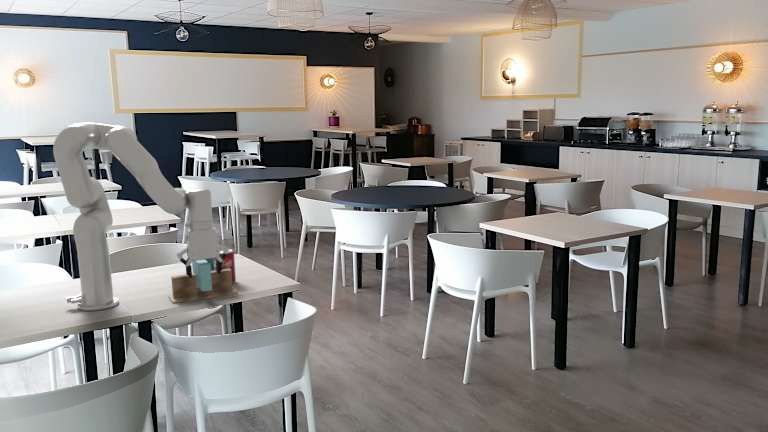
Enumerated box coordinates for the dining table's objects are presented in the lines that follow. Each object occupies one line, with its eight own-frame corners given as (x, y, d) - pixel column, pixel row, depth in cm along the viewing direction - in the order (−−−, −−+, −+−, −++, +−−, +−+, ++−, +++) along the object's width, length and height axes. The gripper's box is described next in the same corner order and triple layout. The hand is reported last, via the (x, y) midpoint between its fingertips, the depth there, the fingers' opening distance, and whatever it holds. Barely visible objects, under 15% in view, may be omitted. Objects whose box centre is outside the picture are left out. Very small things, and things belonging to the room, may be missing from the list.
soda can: (230, 286, 241) (228, 253, 239) (212, 285, 243) (210, 253, 240) (239, 280, 248) (237, 249, 246) (220, 279, 250) (219, 248, 247)
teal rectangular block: (202, 291, 222) (200, 265, 221) (193, 282, 234) (191, 257, 233) (212, 290, 224) (210, 264, 222) (202, 280, 236) (201, 256, 234)
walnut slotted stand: (172, 303, 221) (171, 280, 220) (168, 297, 228) (166, 274, 227) (237, 293, 231) (236, 271, 230) (231, 288, 238) (230, 266, 237)
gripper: (176, 229, 215) (180, 281, 218) (229, 224, 223) (232, 273, 226) (172, 226, 221) (176, 275, 224) (224, 221, 229) (226, 269, 232)
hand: (204, 274), depth 225 cm, fingers open, 9 cm apart
